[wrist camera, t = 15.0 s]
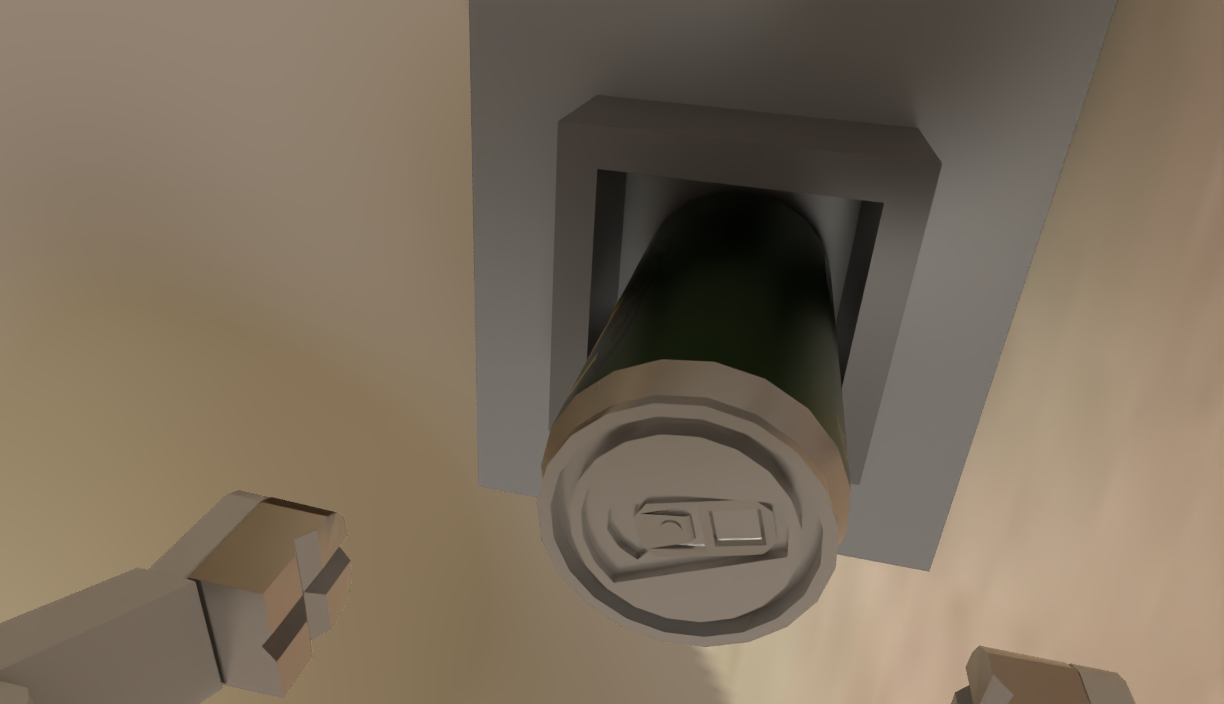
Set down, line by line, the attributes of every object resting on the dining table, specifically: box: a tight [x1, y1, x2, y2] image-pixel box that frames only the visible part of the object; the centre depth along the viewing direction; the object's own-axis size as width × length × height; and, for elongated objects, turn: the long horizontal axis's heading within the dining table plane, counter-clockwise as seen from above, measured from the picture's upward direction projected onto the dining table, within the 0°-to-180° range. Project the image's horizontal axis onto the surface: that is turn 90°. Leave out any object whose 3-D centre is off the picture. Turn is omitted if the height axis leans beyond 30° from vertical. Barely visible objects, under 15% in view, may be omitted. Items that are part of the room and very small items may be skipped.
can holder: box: [469, 0, 1117, 571], centre depth 22 cm, size 20×16×5 cm
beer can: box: [537, 192, 851, 647], centre depth 18 cm, size 5×5×12 cm
